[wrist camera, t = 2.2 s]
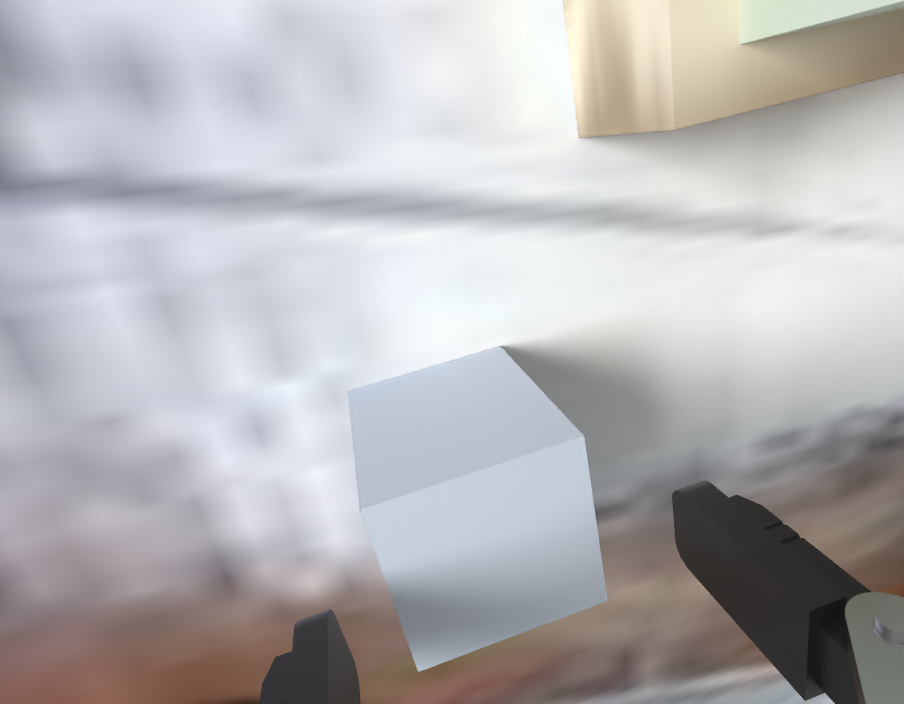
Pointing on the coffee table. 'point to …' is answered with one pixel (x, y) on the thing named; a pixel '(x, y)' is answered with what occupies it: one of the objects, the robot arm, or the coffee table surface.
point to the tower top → (803, 15)
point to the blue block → (474, 504)
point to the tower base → (708, 62)
